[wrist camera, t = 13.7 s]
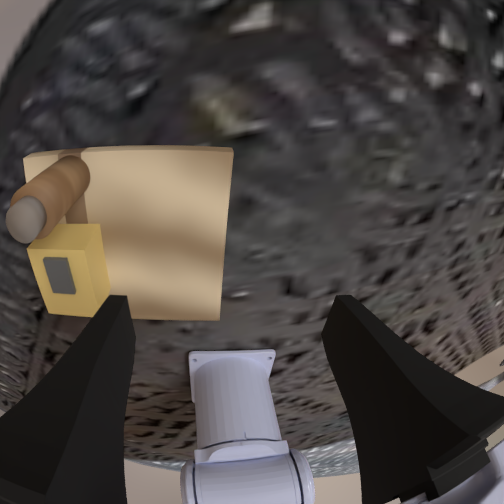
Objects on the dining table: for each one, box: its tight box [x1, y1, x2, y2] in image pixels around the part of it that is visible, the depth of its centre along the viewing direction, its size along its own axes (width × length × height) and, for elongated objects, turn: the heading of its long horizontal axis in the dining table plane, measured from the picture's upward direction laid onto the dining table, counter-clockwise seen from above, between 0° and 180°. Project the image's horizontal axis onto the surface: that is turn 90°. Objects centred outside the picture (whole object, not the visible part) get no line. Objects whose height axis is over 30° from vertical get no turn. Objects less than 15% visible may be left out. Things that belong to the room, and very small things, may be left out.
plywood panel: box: [23, 145, 234, 320], centre depth 18 cm, size 12×13×1 cm
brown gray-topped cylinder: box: [6, 155, 90, 243], centre depth 12 cm, size 3×3×6 cm
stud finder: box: [27, 224, 111, 317], centre depth 16 cm, size 5×4×3 cm
